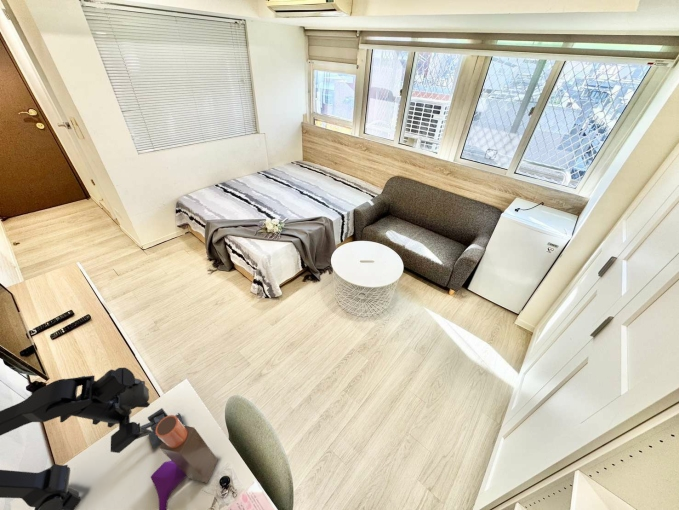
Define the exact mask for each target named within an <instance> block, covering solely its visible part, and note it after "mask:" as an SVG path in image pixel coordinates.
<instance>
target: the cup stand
mask: <svg viewBox="0 0 679 510" xmlns="http://www.w3.org/2000/svg"><path fill="white" fill-rule="evenodd" d="M183 426H184V427H185V428H186V430H187V437H186V439H185V441H184V442H183V443H182V444H181V445H180V446H178V447H176V448H169V447H168V446H167V445H166V444H165V443H164V442H163V443H162V444H161V445H159V446H158V448H159V450H160V451H161V452H163V454H165V456H167V458H169V460H170V461H171V460H172V461H173V462H174V463H175V464H176V465H177V466H178V467H179V468H180V469H181V470H182V471H183V472H184V473H185V474H186V475H187V476H186V477H187V478H189V479H191V480H194V481H197V482H201V483H205V484H208V483H209V481H210V479H211V477H212V475H213V472H214V470H215V468H216V466H217V464H218V461H219V459H218V458H217V456H216V455H215V454H214V453H213V451H212V449H211V448H210V447H209V445H208V444H207V443H206V442H205V439H203V438H202V436H201V435H200V433H199V432H198V431H197V430H196V428H195V427H194V426H190V425H186V424H185V425H183Z"/></svg>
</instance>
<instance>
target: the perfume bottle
mask: <svg viewBox="0 0 679 510" xmlns="http://www.w3.org/2000/svg"><path fill="white" fill-rule="evenodd" d="M187 477H188V476H187V475H186V474H185V473H184V472H183V471H182V470H181V469H180V468H179V467H178V466H177V465H176V464H175V463H174V462H173V461H172V460H171V459H170V460H167V461H165V462H163V463H162V464H161V465H160V466H159V467H158V468H157V469H156V470H155V471H154V472H153V473H152V474H151V475H150V479H151V481H152V483H153V486H154V488H155V490H156V493H157V496H158V510H167V506H168V501H169V497H170V495H171V493H173V491H174V490H175V489H176V487H177V486H179V484H181V482H183V480H184V479H186V478H187Z"/></svg>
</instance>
